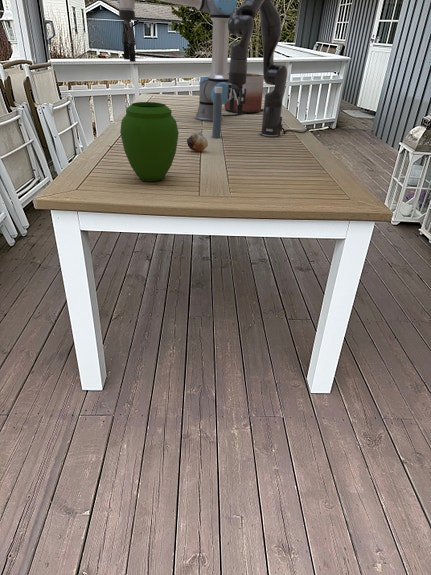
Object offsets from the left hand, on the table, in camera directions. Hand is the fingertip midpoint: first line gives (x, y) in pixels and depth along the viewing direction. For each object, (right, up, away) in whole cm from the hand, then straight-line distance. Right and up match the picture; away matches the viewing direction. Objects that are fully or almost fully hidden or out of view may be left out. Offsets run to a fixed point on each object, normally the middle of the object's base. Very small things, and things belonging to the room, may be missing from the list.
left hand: (129, 60), depth 206 cm
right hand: (+52, -37, -24) cm, 68 cm away
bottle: (+44, -38, +2) cm, 58 cm away
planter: (+62, +7, +75) cm, 98 cm away
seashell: (+35, -54, -24) cm, 69 cm away
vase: (+20, -76, -60) cm, 99 cm away
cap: (+45, -19, -10) cm, 50 cm away
